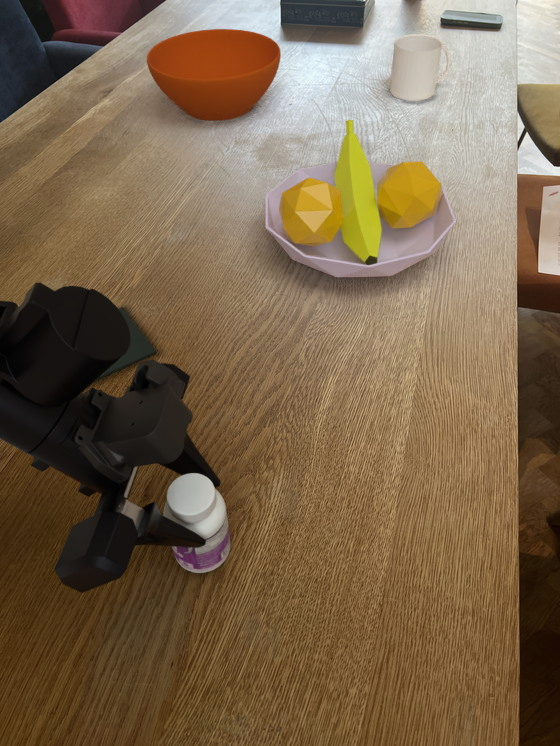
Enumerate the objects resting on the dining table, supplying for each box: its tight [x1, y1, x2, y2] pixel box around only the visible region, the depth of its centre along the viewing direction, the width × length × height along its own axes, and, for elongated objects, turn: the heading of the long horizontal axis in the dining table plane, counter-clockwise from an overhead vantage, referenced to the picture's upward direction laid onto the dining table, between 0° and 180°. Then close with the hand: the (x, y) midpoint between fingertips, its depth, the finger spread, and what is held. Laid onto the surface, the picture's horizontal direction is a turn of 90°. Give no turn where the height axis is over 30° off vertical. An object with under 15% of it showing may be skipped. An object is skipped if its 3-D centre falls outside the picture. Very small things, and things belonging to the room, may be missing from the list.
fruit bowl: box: [264, 119, 457, 278], centre depth 86 cm, size 28×27×11 cm
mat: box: [94, 306, 157, 382], centre depth 76 cm, size 10×10×1 cm
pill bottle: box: [162, 473, 231, 574], centre depth 53 cm, size 5×5×10 cm
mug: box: [389, 33, 452, 102], centre depth 121 cm, size 12×9×9 cm
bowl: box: [146, 28, 282, 122], centre depth 119 cm, size 25×25×10 cm
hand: (210, 514), depth 52 cm, fingers closed on pill bottle, 5 cm apart
